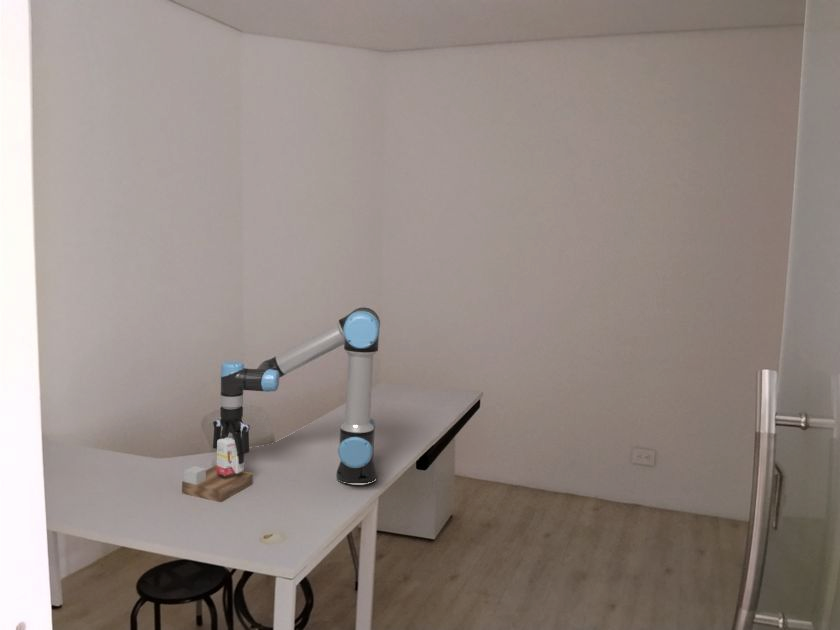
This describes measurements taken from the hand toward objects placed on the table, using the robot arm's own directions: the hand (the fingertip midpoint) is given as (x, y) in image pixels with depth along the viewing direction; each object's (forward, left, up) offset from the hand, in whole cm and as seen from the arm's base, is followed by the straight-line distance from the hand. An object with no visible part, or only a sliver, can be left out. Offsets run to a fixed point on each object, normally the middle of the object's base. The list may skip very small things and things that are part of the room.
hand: (230, 470), depth 253 cm
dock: (+3, +3, -6) cm, 8 cm away
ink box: (0, 0, -1) cm, 1 cm away
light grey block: (+8, +9, -2) cm, 12 cm away
